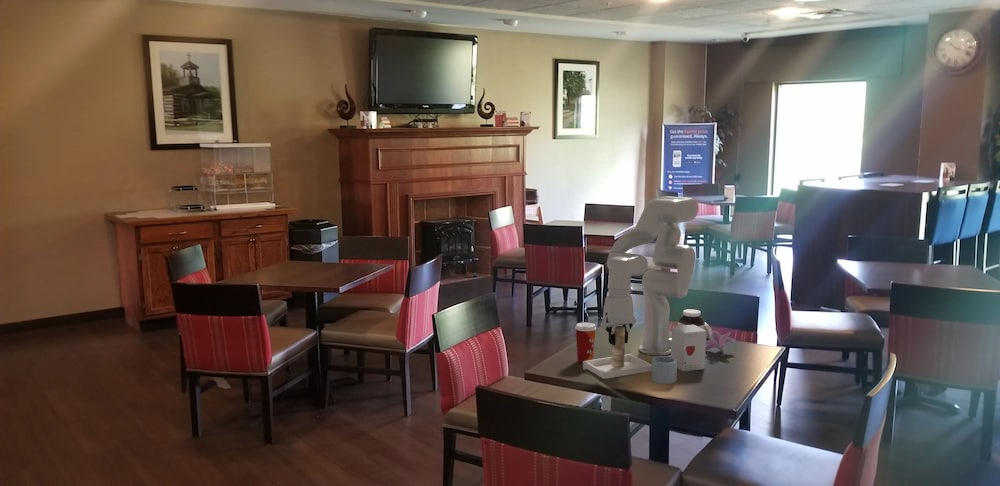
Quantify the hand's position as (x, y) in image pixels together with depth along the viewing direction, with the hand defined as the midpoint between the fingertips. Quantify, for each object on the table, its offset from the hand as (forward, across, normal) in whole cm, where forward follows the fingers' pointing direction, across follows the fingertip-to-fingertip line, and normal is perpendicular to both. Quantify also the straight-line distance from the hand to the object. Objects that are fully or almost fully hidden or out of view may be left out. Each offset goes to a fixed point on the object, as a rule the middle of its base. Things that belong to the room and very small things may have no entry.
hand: (618, 342), depth 255 cm
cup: (+10, -8, +16) cm, 21 cm away
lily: (+11, -46, -1) cm, 47 cm away
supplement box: (+11, -24, +8) cm, 27 cm away
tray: (+10, 0, 0) cm, 10 cm away
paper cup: (+11, +5, -14) cm, 18 cm away
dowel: (+8, 0, 0) cm, 8 cm away
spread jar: (+11, -50, -21) cm, 55 cm away
